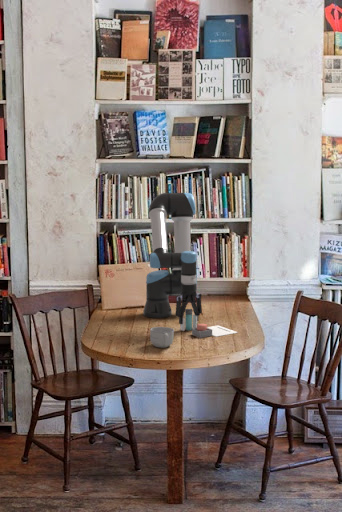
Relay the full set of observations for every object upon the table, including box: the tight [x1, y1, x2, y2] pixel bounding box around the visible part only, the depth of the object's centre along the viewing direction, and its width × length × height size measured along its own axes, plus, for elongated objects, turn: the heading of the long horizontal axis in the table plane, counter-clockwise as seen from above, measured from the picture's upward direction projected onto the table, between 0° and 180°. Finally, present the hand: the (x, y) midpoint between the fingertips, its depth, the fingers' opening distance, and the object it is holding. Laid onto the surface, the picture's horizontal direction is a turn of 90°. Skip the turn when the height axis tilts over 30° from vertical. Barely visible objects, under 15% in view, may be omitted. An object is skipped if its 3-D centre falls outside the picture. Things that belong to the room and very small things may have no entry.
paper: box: [207, 324, 239, 338], centre depth 360 cm, size 16×13×1 cm
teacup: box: [149, 326, 175, 349], centre depth 333 cm, size 14×11×8 cm
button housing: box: [191, 327, 213, 339], centre depth 353 cm, size 7×7×3 cm
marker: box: [184, 308, 193, 331], centre depth 362 cm, size 3×3×10 cm
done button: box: [197, 323, 208, 331], centre depth 352 cm, size 5×5×3 cm
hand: (188, 329), depth 363 cm, fingers open, 7 cm apart
